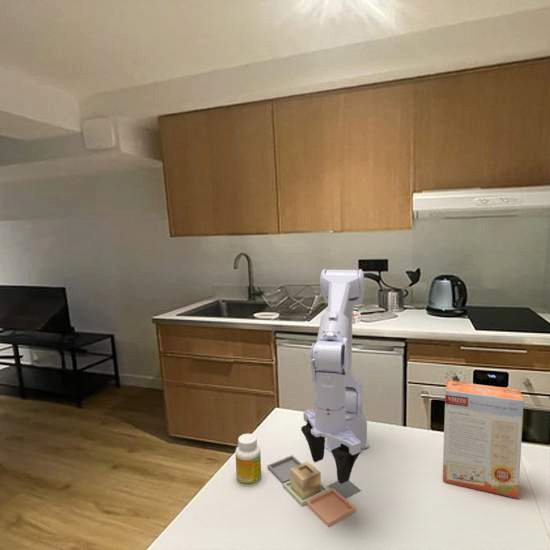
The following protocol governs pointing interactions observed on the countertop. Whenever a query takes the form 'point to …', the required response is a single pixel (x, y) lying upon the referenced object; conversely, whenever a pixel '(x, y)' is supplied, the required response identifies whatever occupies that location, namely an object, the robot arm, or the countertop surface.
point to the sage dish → (302, 502)
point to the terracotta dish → (331, 507)
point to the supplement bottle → (248, 461)
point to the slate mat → (345, 488)
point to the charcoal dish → (283, 468)
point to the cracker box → (483, 437)
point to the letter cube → (305, 480)
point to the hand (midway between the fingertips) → (330, 470)
